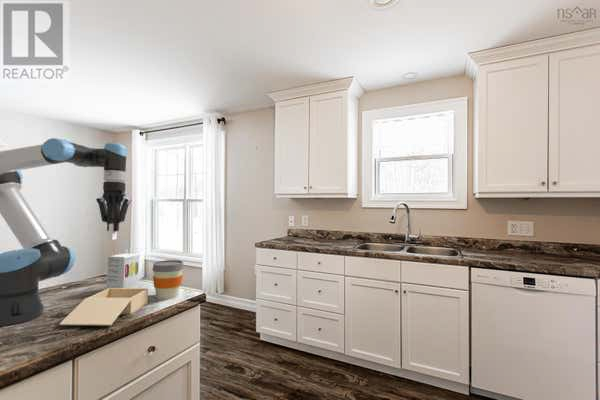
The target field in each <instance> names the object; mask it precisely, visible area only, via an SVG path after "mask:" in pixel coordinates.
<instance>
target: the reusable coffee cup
mask: <svg viewBox="0 0 600 400" xmlns="http://www.w3.org/2000/svg"><path fill="white" fill-rule="evenodd" d="M152 264H153V265H152V272H153V275H152V282H153V287H154V291H155V298H156V299H157V300H163V301H164V300H165V301H168V300H171V299H176V298H177V297H179V292H180V288H181V287H180V286H181V285H182V280H183V270H184V261H183V260H179V259H178V260H177V259H167V260H160V261H156V262H154V263H152Z"/></svg>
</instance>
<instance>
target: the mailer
mask: <svg viewBox="0 0 600 400" xmlns="http://www.w3.org/2000/svg"><path fill="white" fill-rule="evenodd" d="M87 298H131V301H130V302H129V303H128V304H127V306H126V307H125V308H124V309H123V311H122V312H121V313H120V314H119V316H121V315H123V316H124V315H125V316H128V315H129V316H131V315H132V314H134V313H135V312H137V311H139V310H140V309H141V308H143V307H145V306H146V305H147V304H148V299H149V288H138V289H132V288H108V289H106V288H105V289H104V290H102V291H100V292H97V293H95V294H93V295H91V296H88V297H87Z"/></svg>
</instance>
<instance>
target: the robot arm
mask: <svg viewBox="0 0 600 400" xmlns="http://www.w3.org/2000/svg"><path fill="white" fill-rule="evenodd" d="M127 157H128V156H127V147H126V146H125V145H124V144H121V143H115V142H107V143H105V144H104V147H103V148H96V147H94V148H92V147H88V146H85V145H81V144H78V143H74V142H71V141H68V140H66V139H62V138H56V137H54V138H48V139H47V140H46V141H44V142H43V143H42V144H35V145H31V146H24V147H20V148H13V149H8V150H7V149H6V150H1V151H0V215H1V216H2V218H3V220H4V221H5V222H6V225H7V226H8V227H9V229H10V231H11V232H12V234H13V235H14V236H15V239H16V240H17V241H18V243H19V244H20V246H21V247H22V248H20V249H14V250H9V251H4V252H1V253H0V327H5V326H11V325H17V324H21V323H25V322H29V321H31V320H34V319H36V318H39V317H41V316H42V315H43V314H44V313H45V305H44V304H43V303H42V299H41V296H40V293H39V285H40V283H39V282H41V281H46V280H49V279H51V278H57V277H60V276H61V275H65V274H66V273H68V272H69V271H70V270H71V269H72V268H73V267H74V264H75V261H76V255H75V253H74V251H73V249H71V248H70V247H67V246H62V245H61V244H60V241H59V240H58V239H55V238H51V237H50V235H49V233H48V232H47V231H46V229H45V227H44V226H43V224H42V223H41V221H40V220H39V218H38V217H37V216H36V214H35V213H34V210H33V209H32V208H31V206H30V205H29V203H28V201H27V200H26V199H25V197H24V196H23V194H22V193H21V189H22V184H23V178H24V177H23V173H22V172H21V171H23V170H27V169H28V170H29V169H35V168H41V167H45V166H51V165H57V164H64V163H69V164H74V166H76V167H84V168H92V167H93V168H103V180H104V182H103V183H102V185H103V186H102V190H103V193H102V195H101V197H99V198H96V202H97V204H98V207H99V212H100V213H99V214H100V217H101V221H102V222H103V223H105V224H106V225H107V226H106V231H107V232H108V240H109V241H113V240H117V237H118V232H119V230H120V223H123V222H125V220H126V216H127V212H128V209H129V205H130V204H131V202H132V199H131V198H128V197H127V196H126V194H125V193H126V183H125V182H126V180H127V177H126V175H127Z"/></svg>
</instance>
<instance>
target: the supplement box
mask: <svg viewBox="0 0 600 400" xmlns="http://www.w3.org/2000/svg"><path fill="white" fill-rule="evenodd" d="M106 269H107V270H106V271H107V274H106V288H105V290H106V289H108V288H132V289H139V279H140V278H139V277H140V253H127V252H126V253H124V252H123V253H121V254H115V255H109V256H107V268H106Z"/></svg>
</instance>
